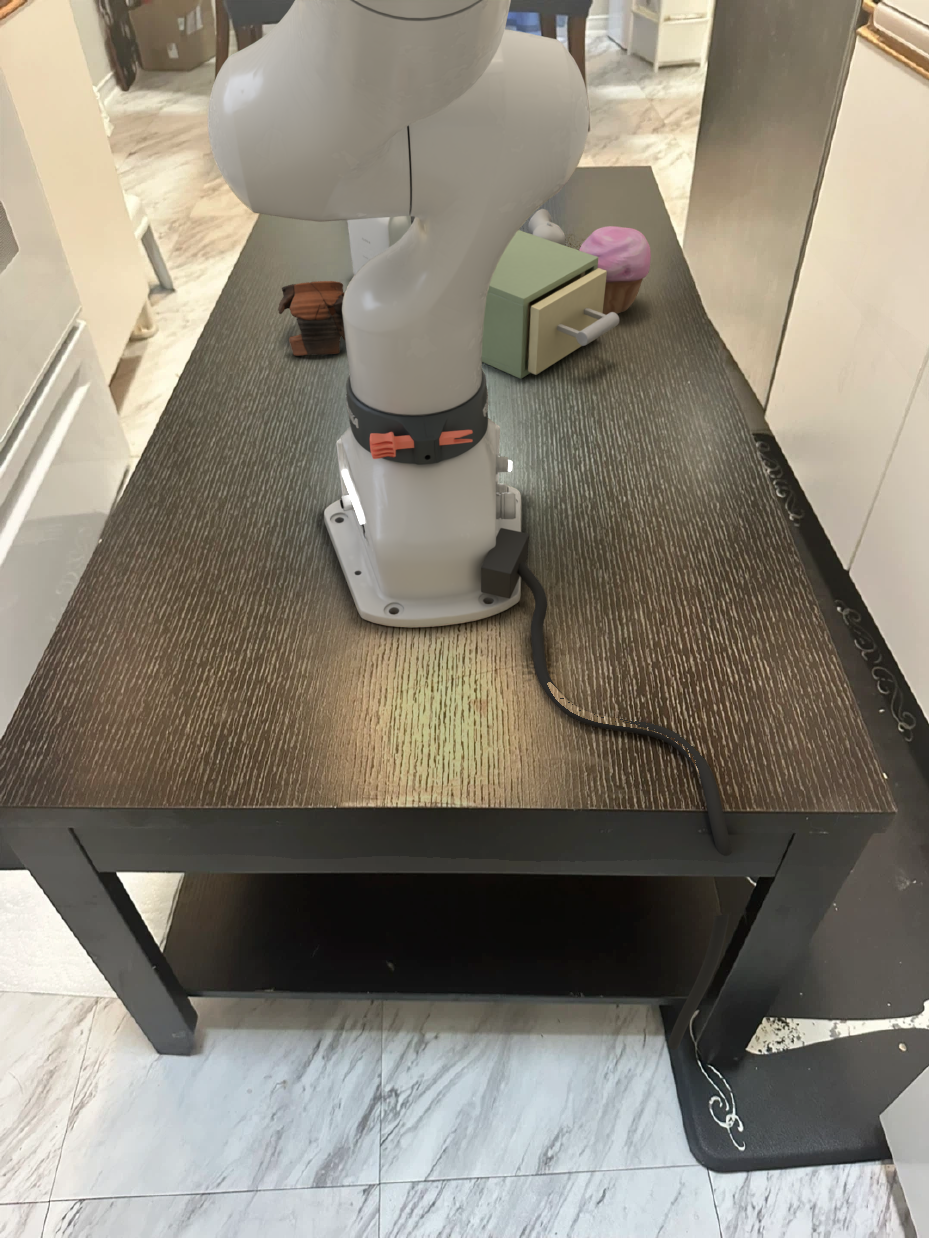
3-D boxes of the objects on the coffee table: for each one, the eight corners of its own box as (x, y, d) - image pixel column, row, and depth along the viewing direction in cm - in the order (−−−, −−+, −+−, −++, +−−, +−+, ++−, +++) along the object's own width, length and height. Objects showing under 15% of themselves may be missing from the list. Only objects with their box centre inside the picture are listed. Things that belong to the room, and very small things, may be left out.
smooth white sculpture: (563, 266, 124) (529, 256, 123) (554, 241, 130) (522, 232, 129) (574, 236, 121) (540, 226, 120) (565, 212, 127) (532, 202, 126)
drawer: (630, 346, 104) (639, 282, 99) (567, 388, 98) (572, 322, 92) (501, 296, 114) (503, 234, 108) (436, 331, 107) (433, 268, 102)
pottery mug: (268, 360, 106) (258, 287, 104) (311, 358, 114) (302, 291, 112) (355, 350, 101) (347, 273, 99) (394, 350, 109) (386, 279, 107)
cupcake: (564, 298, 115) (570, 220, 108) (625, 288, 117) (635, 210, 110) (592, 330, 109) (600, 249, 102) (656, 319, 111) (668, 238, 104)
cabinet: (591, 334, 108) (598, 257, 101) (520, 379, 101) (523, 298, 94) (488, 294, 116) (489, 219, 109) (416, 333, 109) (412, 255, 102)
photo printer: (349, 279, 120) (338, 183, 111) (374, 270, 122) (366, 175, 113) (393, 306, 114) (386, 207, 105) (420, 296, 116) (415, 198, 107)
